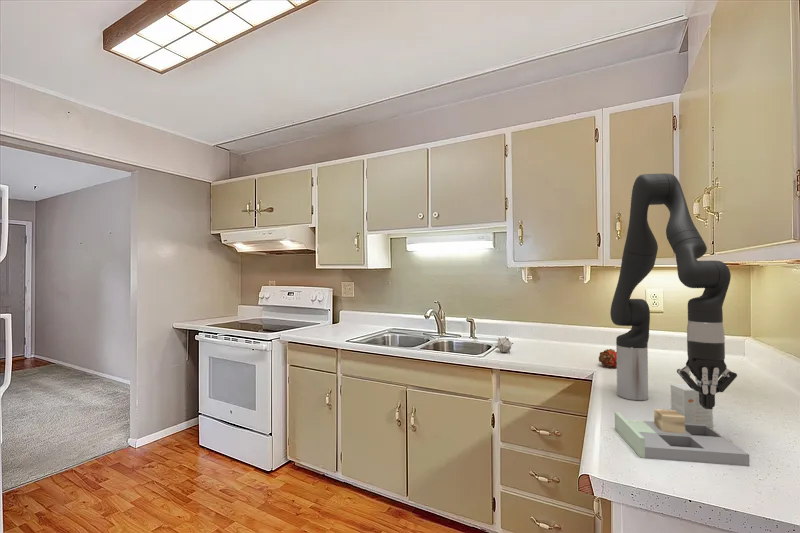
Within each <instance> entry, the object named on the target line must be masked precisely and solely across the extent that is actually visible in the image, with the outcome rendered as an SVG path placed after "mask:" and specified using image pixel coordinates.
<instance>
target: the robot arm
mask: <svg viewBox="0 0 800 533" xmlns="http://www.w3.org/2000/svg"><path fill="white" fill-rule="evenodd" d="M631 190H632V191H631V198H630V210H629V219H628V220H629V221H628V227H627V232H626V238H625V242H624V246H623V251H622V257H621V262H620V263H621V264H620V265H621V266H620V270H619V274H618V276H619V277H618V281H617V284H616V287H615V291H614V294H613V297H612V301H611V305H610V312H609V313H610V314H609V315H610V320H611V321H612V324H614V325H616V326H620V327H631V329H630V330H628V331H626V332H625V333H623V334H619V335H618V336H617V337H616V341H615V342H616V343H615V344H616V346H615V347H616V349H615V352H617V367H616V395H617V396H618V397H620V398H623V399H627V400H631V401H646V400H648V399H649V365H648V364H649V360H648V359H649V356H648V354H649V352H648V351H649V350H648V349H649V348H648V343H649V338H650V323H651V313H650V312H651V310H650V306H649V304H648V302H647V301H646V300H645V299H643V298H631V297H632V294H633V292H634V290H635V289H636V288H637V286H638V285H639V284H640V283H642V281H644V279H645V278H646V277H647V276H649V274H650V273H651V271H652V270H653V269H654V267H655V263H656V259H657V255H658V251H659V244H658V242H657V239H656V237H655V234H654V233H653V231H652V228H651V227H650V225H649V222H648V211H649V206H655V205H656V206H657V205H661V206H662V205H664V206H665V207H666V208H667V209H668V211H669V218H668V221H667V224H666V228H665V236H666V239H667V241H668V243H669V246H671V249H672V251H673V253H674V255H675V260H676V268H677V271H676V272H677V277H678V279H679V281H680V282H681V284H683V286H685V287H687V288H689V289H704V290H703V292H702V294H701V295H699V296H697V297H693V298H690V299H689V300H688V302H687V325H686V326H687V327H686V346H687V353H686V354H687V360H686V363H685V366H684V367H682V368H678V369H677V370H676V373H677V374H678V375H679V376H680V377H681V379H682V380H683V381H684V382H685V384H688V386H689V387H690V388H691V389H694V390H695V391H698V392H699V403H700V405H702V407H703V408H705V409H712V410H713V409H714V407H715V406H716V394H717V393H724V392H725V390H726V389H727V388H728V387H729V386H730V385H731V384H732V383H733V381H734V380H736V379H737V377H738V374H737V373H736V372H733V371H731V370H730V369H728V366H727V364H726V362H725V359H726V348H725V347H726V346H725V345H726V343H725V339H726V336H725V329H724V322H723V321H724V319H723V318H724V317H723V316H724V315H723V314H724V313H723V305H724V303H725V299H726V295H727V292H728V289H729V286H730V284H731V277H732V276H731V275H732V274H731V271H730V268H729V267H728V265H727V264H726V263H725V262H723V261H720V260H698V259H699V258H702V257H703V256H704V255H705V254H706V253H707V250H708V248H707V244H706V242H705V241H704V239H703V237H702V236H701V234H700V232H699V231H698V229H697V227H696V225H695V223H694V222H693V219H692V216H691V213H690V210H689V207H688V204H687V200H686V198H685V195H684V192H683V188H682V186H681V184H680V182H679V179H678V178H677V177H676V175H674V174H671V173H643V174H639V175H638V176H637V177H636V179H635V180H634V182H633V185H632V189H631ZM691 374H692V375H693V376H694V379H695V380H694V379H693V378H692V377H691Z"/></svg>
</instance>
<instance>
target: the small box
mask: <svg viewBox="0 0 800 533" xmlns="http://www.w3.org/2000/svg"><path fill="white" fill-rule="evenodd" d="M670 410H676V411H677V412H678V413H680V414H681V415H683V416H684V417H685V423H687V424H704V425H707V426H708V427H710V428H713V427H714V425H713V424H714V423H713V418H714V416H713V409H705V408H703V407H702V405H700V403H699V392H698V391H695V390H694V389H691V388H690V387H689V386H688V384H687V383H681V384H680V383H679V384H677V383H675V384H673V383H672V384H670Z"/></svg>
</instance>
